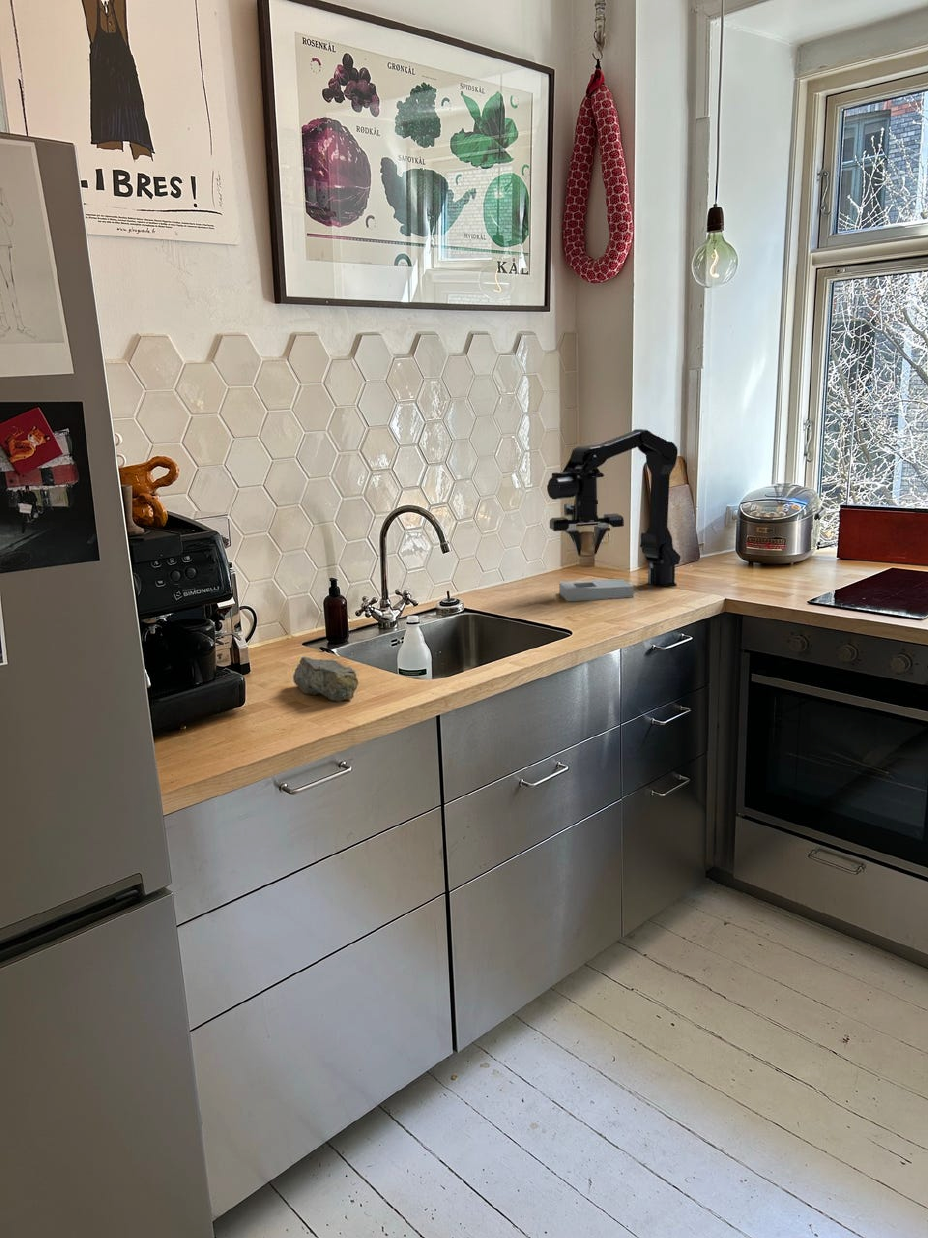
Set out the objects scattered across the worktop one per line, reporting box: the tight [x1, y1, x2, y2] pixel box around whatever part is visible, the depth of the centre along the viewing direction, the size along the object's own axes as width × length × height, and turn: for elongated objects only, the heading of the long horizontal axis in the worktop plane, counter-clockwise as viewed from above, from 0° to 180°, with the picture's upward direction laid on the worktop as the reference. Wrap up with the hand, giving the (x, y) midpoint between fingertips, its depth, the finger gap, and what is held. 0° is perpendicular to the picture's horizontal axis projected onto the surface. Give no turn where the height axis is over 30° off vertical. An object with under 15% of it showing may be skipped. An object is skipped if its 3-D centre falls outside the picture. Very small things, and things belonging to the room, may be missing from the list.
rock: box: [292, 656, 359, 703], centre depth 170 cm, size 17×7×10 cm
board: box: [558, 578, 634, 602], centre depth 241 cm, size 18×10×3 cm, turn 95°
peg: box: [578, 530, 596, 568], centre depth 235 cm, size 4×4×9 cm
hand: (586, 554), depth 236 cm, fingers closed on peg, 4 cm apart
